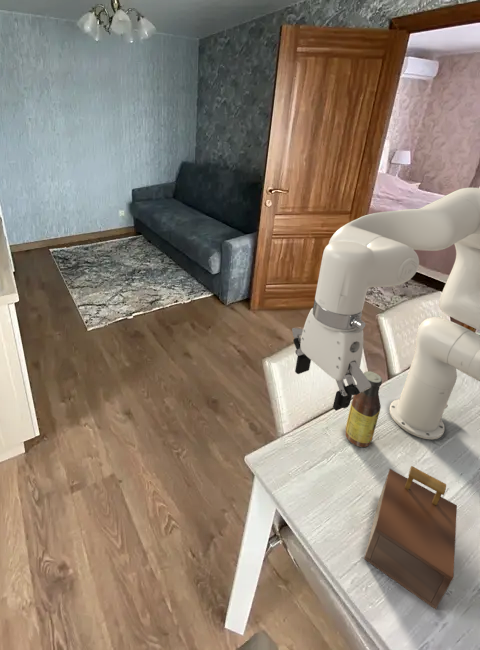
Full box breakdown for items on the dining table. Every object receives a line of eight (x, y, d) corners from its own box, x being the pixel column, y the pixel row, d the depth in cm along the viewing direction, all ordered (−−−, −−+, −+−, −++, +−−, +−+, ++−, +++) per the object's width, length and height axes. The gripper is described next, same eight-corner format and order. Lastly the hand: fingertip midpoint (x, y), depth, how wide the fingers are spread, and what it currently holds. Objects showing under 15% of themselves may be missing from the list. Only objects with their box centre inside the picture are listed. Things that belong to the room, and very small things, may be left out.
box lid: (388, 471, 72) (396, 450, 70) (455, 507, 66) (466, 486, 63) (374, 530, 62) (382, 508, 60) (451, 581, 56) (464, 558, 53)
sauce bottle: (374, 451, 86) (393, 390, 79) (347, 446, 87) (363, 386, 80) (366, 428, 92) (383, 370, 85) (341, 424, 93) (356, 366, 86)
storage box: (378, 501, 75) (388, 474, 72) (441, 539, 69) (455, 511, 65) (363, 559, 66) (374, 530, 62) (435, 609, 59) (451, 581, 56)
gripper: (398, 335, 53) (373, 416, 60) (315, 285, 68) (302, 355, 75) (364, 347, 51) (342, 431, 57) (285, 293, 65) (275, 364, 72)
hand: (319, 388), depth 66 cm, fingers open, 9 cm apart
